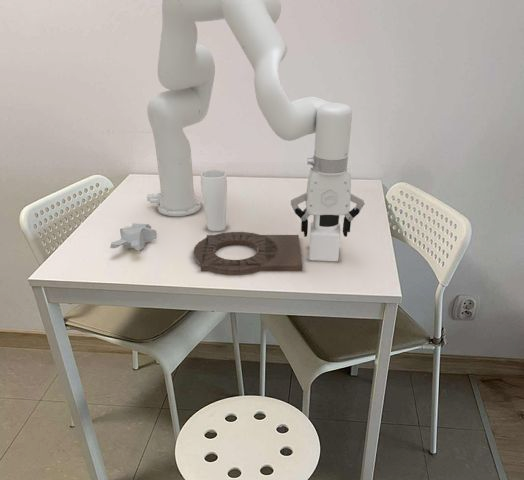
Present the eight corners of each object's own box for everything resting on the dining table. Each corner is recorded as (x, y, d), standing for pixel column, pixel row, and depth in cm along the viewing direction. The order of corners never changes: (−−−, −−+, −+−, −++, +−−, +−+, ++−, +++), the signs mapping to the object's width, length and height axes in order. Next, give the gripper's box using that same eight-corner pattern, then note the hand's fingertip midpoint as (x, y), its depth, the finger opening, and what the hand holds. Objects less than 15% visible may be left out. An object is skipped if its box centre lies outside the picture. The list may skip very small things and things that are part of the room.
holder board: (189, 275, 126) (189, 269, 125) (198, 237, 142) (198, 231, 141) (302, 275, 126) (302, 269, 125) (297, 236, 142) (298, 231, 141)
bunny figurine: (160, 220, 141) (142, 238, 128) (162, 239, 144) (144, 258, 131) (126, 218, 142) (104, 236, 129) (128, 237, 145) (107, 256, 132)
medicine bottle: (337, 248, 136) (341, 203, 129) (338, 261, 131) (342, 215, 124) (309, 247, 137) (312, 202, 130) (308, 260, 131) (311, 214, 124)
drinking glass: (232, 225, 148) (230, 170, 139) (223, 234, 143) (220, 179, 134) (210, 221, 150) (206, 168, 141) (200, 231, 145) (195, 176, 136)
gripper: (292, 169, 117) (290, 241, 128) (371, 169, 117) (362, 241, 128) (291, 158, 123) (289, 227, 134) (366, 158, 123) (358, 227, 134)
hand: (325, 234), depth 131 cm, fingers open, 9 cm apart
